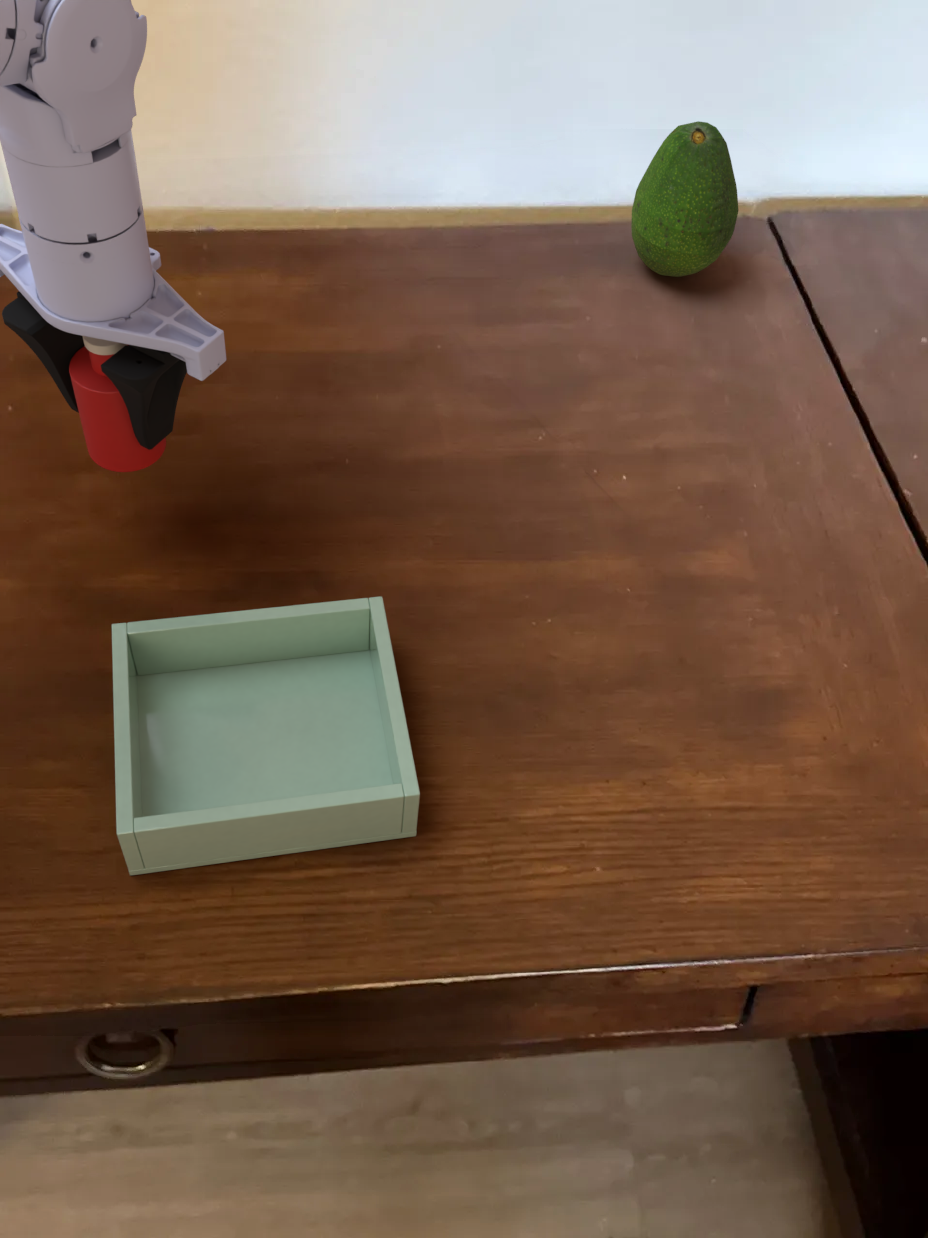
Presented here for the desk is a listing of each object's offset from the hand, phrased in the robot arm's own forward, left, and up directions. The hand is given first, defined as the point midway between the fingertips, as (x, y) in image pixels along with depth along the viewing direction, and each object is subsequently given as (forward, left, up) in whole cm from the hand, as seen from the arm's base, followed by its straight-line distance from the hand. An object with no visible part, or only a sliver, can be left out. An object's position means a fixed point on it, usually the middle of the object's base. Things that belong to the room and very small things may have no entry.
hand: (122, 419), depth 68 cm
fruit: (+41, +22, -9) cm, 47 cm away
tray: (+6, -17, -9) cm, 20 cm away
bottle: (0, 0, -2) cm, 2 cm away
